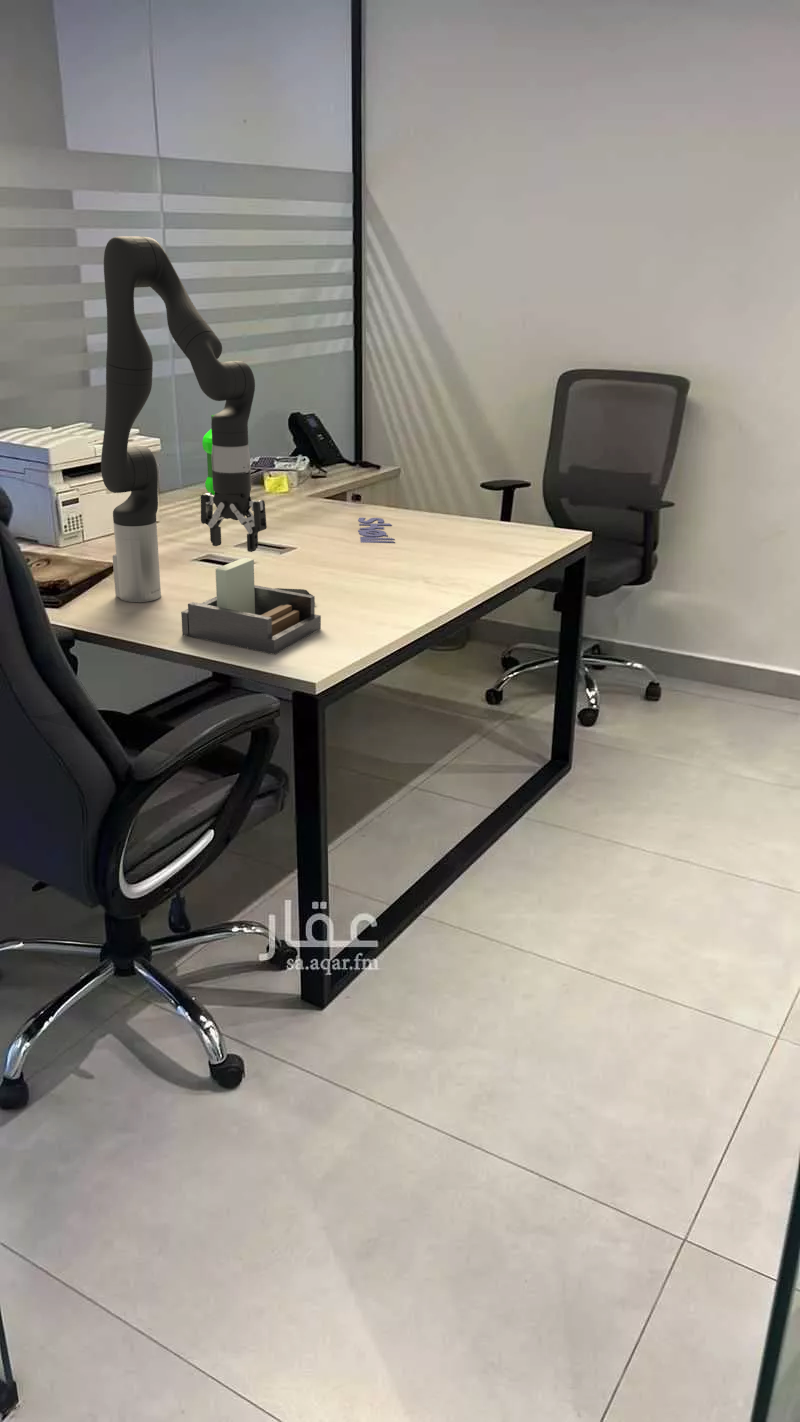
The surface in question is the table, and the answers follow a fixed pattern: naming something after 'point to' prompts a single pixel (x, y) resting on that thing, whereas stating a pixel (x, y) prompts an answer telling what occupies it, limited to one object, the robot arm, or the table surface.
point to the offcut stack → (282, 618)
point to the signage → (373, 531)
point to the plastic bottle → (208, 459)
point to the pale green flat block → (236, 586)
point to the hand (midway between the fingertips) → (234, 548)
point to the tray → (252, 621)
